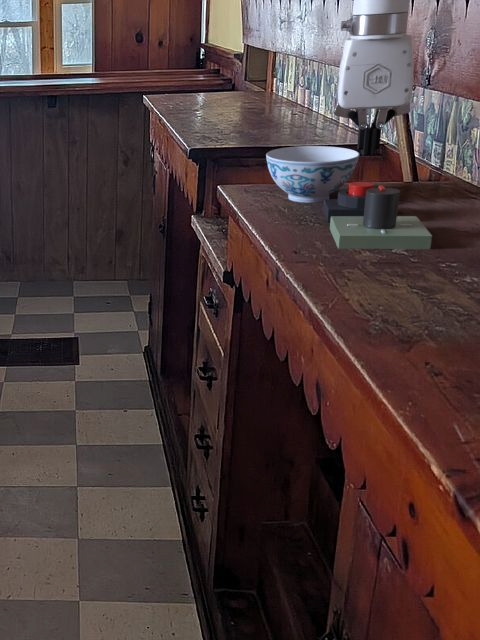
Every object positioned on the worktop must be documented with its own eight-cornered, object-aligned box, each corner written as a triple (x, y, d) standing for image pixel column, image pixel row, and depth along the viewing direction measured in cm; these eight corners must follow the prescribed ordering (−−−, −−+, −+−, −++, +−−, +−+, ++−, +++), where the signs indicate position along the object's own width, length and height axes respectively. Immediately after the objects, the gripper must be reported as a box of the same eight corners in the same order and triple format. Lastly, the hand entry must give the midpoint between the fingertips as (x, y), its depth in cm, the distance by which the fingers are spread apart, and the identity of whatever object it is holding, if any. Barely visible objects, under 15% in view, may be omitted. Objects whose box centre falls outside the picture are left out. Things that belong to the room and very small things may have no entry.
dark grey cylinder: (398, 229, 122) (402, 191, 120) (365, 229, 123) (369, 192, 121) (392, 221, 126) (397, 185, 124) (360, 221, 127) (364, 185, 125)
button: (371, 192, 137) (372, 181, 136) (374, 197, 133) (375, 186, 133) (346, 192, 137) (347, 181, 137) (349, 197, 134) (350, 186, 134)
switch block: (388, 212, 139) (391, 187, 137) (396, 223, 133) (399, 197, 131) (322, 212, 141) (324, 188, 140) (327, 223, 135) (329, 197, 133)
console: (414, 229, 129) (416, 215, 128) (430, 249, 119) (432, 234, 118) (329, 229, 132) (330, 215, 131) (338, 249, 122) (339, 234, 121)
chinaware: (312, 213, 141) (316, 165, 138) (245, 198, 153) (247, 154, 150) (373, 198, 148) (379, 152, 145) (304, 185, 160) (308, 143, 157)
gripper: (327, 31, 124) (318, 160, 131) (440, 24, 121) (425, 157, 127) (321, 29, 131) (313, 152, 138) (429, 22, 127) (415, 148, 134)
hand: (367, 154), depth 133 cm, fingers closed
